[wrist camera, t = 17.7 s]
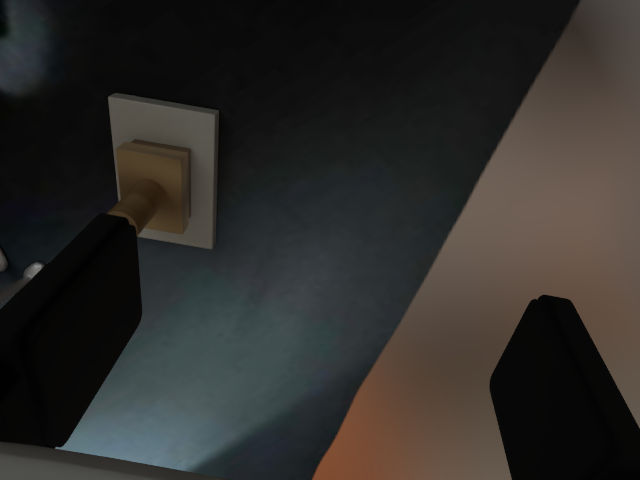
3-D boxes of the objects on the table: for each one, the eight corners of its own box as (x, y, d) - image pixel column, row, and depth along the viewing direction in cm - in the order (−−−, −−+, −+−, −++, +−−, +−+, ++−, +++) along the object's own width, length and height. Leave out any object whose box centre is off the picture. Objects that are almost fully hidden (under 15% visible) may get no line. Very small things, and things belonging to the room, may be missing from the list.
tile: (115, 92, 36) (107, 96, 35) (219, 110, 36) (214, 114, 34) (127, 227, 42) (121, 234, 41) (216, 242, 42) (212, 249, 41)
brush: (131, 135, 36) (78, 177, 30) (193, 146, 36) (153, 190, 29) (137, 208, 39) (90, 260, 33) (193, 218, 39) (157, 272, 33)
